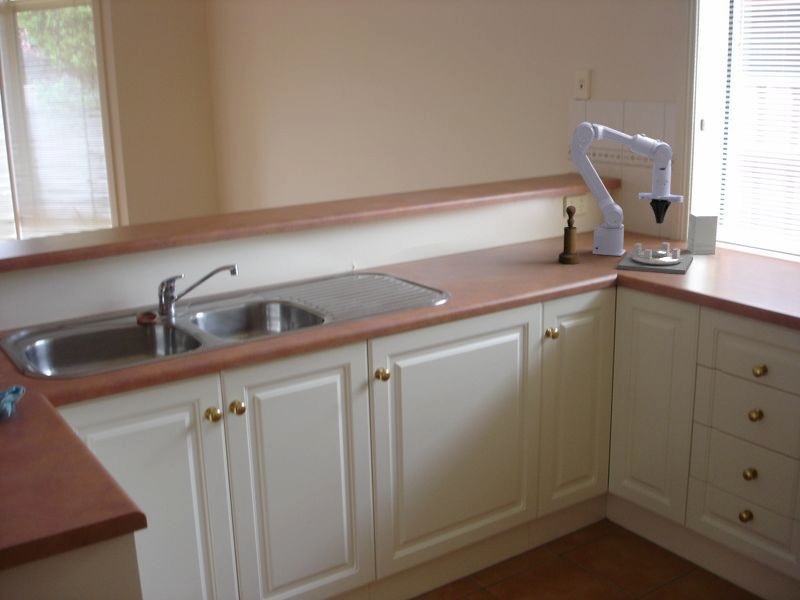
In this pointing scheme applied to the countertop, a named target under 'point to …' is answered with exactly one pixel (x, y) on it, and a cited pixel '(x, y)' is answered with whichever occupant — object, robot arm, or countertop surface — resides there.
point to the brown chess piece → (570, 240)
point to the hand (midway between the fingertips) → (659, 223)
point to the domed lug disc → (656, 255)
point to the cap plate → (675, 268)
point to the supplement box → (702, 233)
